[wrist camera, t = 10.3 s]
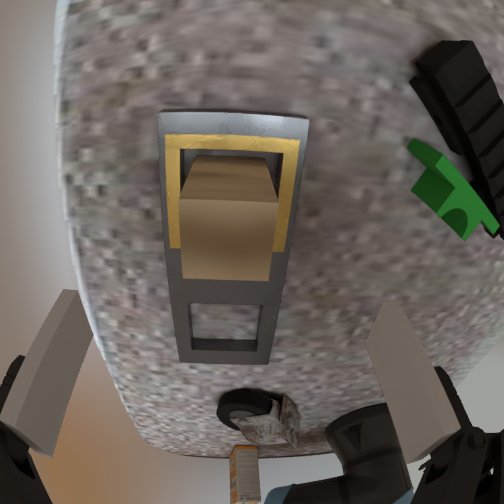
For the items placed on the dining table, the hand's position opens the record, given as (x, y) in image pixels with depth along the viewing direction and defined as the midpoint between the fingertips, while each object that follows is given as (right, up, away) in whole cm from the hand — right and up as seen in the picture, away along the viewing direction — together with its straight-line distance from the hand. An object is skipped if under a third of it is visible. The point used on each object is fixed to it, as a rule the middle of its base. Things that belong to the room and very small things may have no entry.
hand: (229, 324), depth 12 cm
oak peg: (-1, +8, +11) cm, 13 cm away
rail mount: (+22, +13, +9) cm, 27 cm away
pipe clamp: (+18, +9, +12) cm, 23 cm away
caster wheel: (+1, -19, +30) cm, 35 cm away
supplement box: (-1, -39, +43) cm, 58 cm away
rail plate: (-1, +2, +15) cm, 15 cm away
